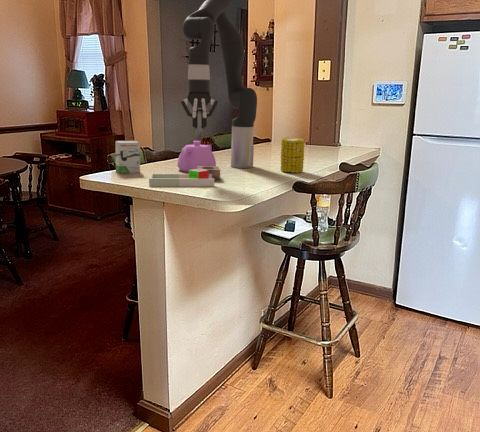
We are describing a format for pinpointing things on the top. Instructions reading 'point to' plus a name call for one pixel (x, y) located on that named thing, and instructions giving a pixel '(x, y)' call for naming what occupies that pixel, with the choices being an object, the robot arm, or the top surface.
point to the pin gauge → (199, 123)
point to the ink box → (127, 156)
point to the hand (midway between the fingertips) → (199, 128)
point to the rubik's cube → (198, 173)
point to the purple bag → (195, 157)
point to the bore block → (212, 171)
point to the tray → (163, 180)
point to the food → (292, 155)
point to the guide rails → (195, 180)
